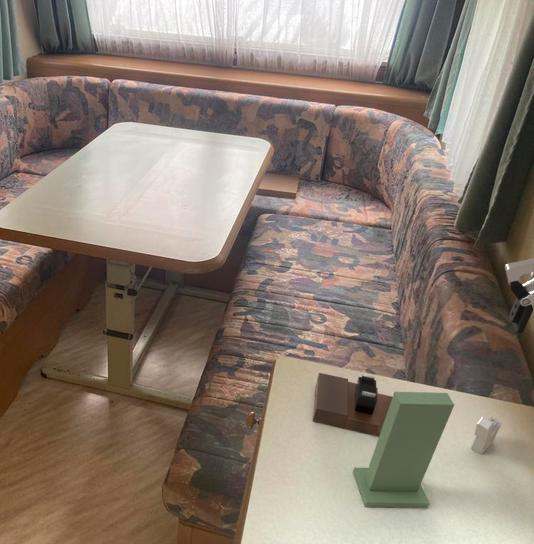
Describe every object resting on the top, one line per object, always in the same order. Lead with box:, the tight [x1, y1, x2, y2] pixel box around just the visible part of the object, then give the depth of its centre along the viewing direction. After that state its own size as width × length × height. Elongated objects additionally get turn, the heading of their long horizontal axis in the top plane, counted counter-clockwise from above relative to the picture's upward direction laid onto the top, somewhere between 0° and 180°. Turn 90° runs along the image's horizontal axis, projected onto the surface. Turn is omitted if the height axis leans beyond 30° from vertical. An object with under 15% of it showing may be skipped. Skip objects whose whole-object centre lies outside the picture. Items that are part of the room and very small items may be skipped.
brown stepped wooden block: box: [312, 372, 393, 438], centre depth 95 cm, size 15×9×3 cm, turn 75°
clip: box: [355, 374, 377, 415], centre depth 94 cm, size 3×5×4 cm, turn 165°
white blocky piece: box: [470, 416, 503, 455], centre depth 88 cm, size 7×2×8 cm, turn 130°
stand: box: [352, 391, 455, 509], centre depth 79 cm, size 6×9×18 cm, turn 91°
